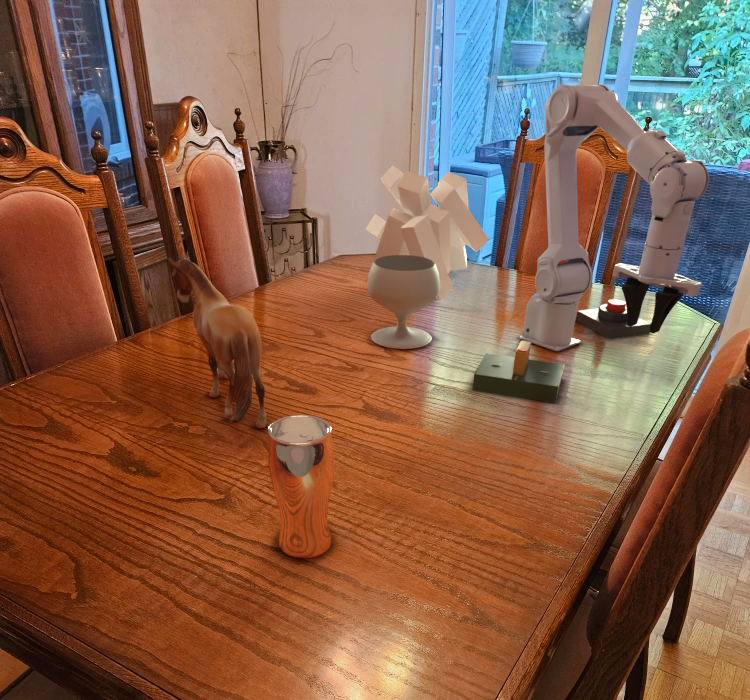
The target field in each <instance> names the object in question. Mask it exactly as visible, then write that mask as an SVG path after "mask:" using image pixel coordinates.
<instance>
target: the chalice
mask: <svg viewBox="0 0 750 700" xmlns="http://www.w3.org/2000/svg"><path fill="white" fill-rule="evenodd" d="M372 263H373V262H372ZM368 275H369V276H368ZM368 275H367V278H368V282H366V283H367V284H366V286H367V293H368V295H369V297H370V298H371V299H372V301H373V302H375V303H376V304H377V305H379V306H380V307H382V308H384V309H386V310H388V311H389V312H391V313H392V314H393V315H394V316H395V318H396V321H397V324H396V326H387V327H382V328H379V329H377V330H375V331H374V332H373V333H372V334H371V335H370V339H371V340H372V341H373V342H374V343H375V344H377V345H379V346H382V347H386V348H391V349H399V350H400V349H402V350H403V349H404V350H407V349H416V348H421V347H424V346H426V345H428V344H430V343H431V341H432V335H430V333H428V331H425V330H423V329H420V328H417V327H411V326H408V325H407V322H408V319H409V318H410V317H411V315H413V314H414V313H415V312H417V311H419V310H421V309H423V308H426V307H428V306H429V305H430V304H432V303H434V302H435V301H436V300H435V299H436V298H437V296H438V294H439V291H440V279H439V273H438V270H437V267H436V265H435V263H434V262H433V261H432V260H430V259H427V258H424V257H419V256H412V255H391V256H385V257H381V258H378V259H376V260H375V261H374V263H373V264H371V267H370V268H369V273H368Z"/></svg>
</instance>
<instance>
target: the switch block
mask: <svg viewBox="0 0 750 700" xmlns="http://www.w3.org/2000/svg"><path fill="white" fill-rule="evenodd" d="M607 304H608V303H604V304H601V305H599V306H598V308H589V309H581V310H580V309H579V310H577V315H576V320H575V322H577V323H579V324H581V325H583V326H585V327H587V328H589V329H590V330H593V331H594V332H596V333H598V334H600V335H602V336H603V337H605V338H607V339H609V340H613V339H619V338H621V339H622V338H628V337H629V338H630V337H635V336H641V335H642V336H644V335H650V334H651V333H650V326H651V322H649V321H646V320H644V319H642V318H641V317H639V319H638V322H637V324H636V325H633V326H631V327H630V326H627V307H626V306H625V310H624V312H613V311H609V310H607Z"/></svg>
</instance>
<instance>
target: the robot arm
mask: <svg viewBox="0 0 750 700" xmlns="http://www.w3.org/2000/svg"><path fill="white" fill-rule="evenodd" d="M544 127H545V128H544V129H545V136H544V143H543V144H544V146H543V147H544V173H545V194H546V195H545V197H546V219H547V243H548V246H547V249H545V251H544V252H543V253H542V254H541V255H540V256H539V257H538V258H537V261H536V263H537V267H536V268H537V270H536V274H535V277H534V287H535V291H536V293H534V294H533V295H532V296H530V298H529V300H528V302H527V304H526V307H525V313H524V320H523V326H522V334H521V335H519V339H520V340H522V341H528V342H531V344H534V345H536V346H540V347H542V348H545V349H547V350H550V351H553V352H560V351H563V350H565V349H569V348H571V347H574V346H575V345H579V344H581V340H580V339H577V338H574V337H573V336H574V330H575V325H576V315H577V311H579V310H578V309H579V305H580V300H581V299H583V297H584V294H585V293H586V292H587V291H588V290H589V289H590V288H591V286H592V283H593V269H592V267H591V264H590V260H589V252H588V251H587V250H586V249H585V247H583V246H582V245H581V244H580V242H579V241H580V240H579V211H578V210H579V209H578V175H577V174H578V172H577V151H578V149H579V147H580V146H581V144H582V143H583V142H584V141H586V140H587V139H588V138H590V136H591V135H593V134H594V133H595V132H596V131H598V129H599V128H600V129H601V130H602V131H603V132H604V133H606V134H607V135H608V136H609V137H611V138H612V139H613V140H614V141H615V142H616V143H618V144H619V145H620V146H621V147H623V148H624V149H625V150H626V151H627V152H626V162H627V163H628V165H629V166H630V167H631V168H632V169H633V170H634V171H635V172H636V173H637V174H638V175H639V176H640V177H641V178H642V179H643V180H644V181H645V182H646V183H647V184H648V185H649V192H650V197H651V207H650V211H651V217H650V221H649V225H648V229H647V234H646V238H645V243H644V246H643V251H642V255H641V259H640V264H639V266H638V265H631V264H625V263H617V264H615V265H614V267H613V271H612V277H613V278H615V279H618V278H622V279H626V281H625V283H622V284H621V291H622V293H623V296H624V300H625V301H624V302H626V307H627V326H630V327H631V326H633V325H636V324H637V322H638V319H639V318H640V316H641V312H642V311H641V310H642V307H643V303H644V301H645V298H646V295H647V292H648V290H649V288H650V286H653V287H656V288H661V290H659V291H656V292H655V293H654V308H653V314H652V319H651V322H650V323H651V326H650V333H649V334H656V333H658V332H660V330H661V329H662V326H663V324H664V322H665V321H666V319H667V317H668V316H669V314H670V312H671V311H672V310H673V308H675V306H676V304H678V302H679V301H680V300H681V299H682V298H683V297H684V295H686V296H687V297H691V298H693V297H696V296H699V294H700V290H701V287H702V284H703V283H702V282H700V281H696V280H693V279H691V278H688V277H685V276H683V275H680V274H678V273H677V271H678V267H679V264H680V261H681V255H682V252H683V248H684V245H685V241H686V237H687V234H688V230H689V226H690V222H691V218H692V215H693V211H694V207H695V203H696V201H697V200H699V199H701V197H703V196H704V194H705V193H706V191H707V189H708V186H709V183H710V174H709V171H708V168H707V167H706V166H705V163H704V162H703V161H702V160H699V159H692V160H689V159H688V158H686V152H684V151H683V150H678V149H677V148H676V147H675V146H674V145H672V143H670V141H668V140H667V139H666V138H667V137H668V134H667V133H666V132H665V131H664V130H656V129H650V130H647V131H645V130H644V129H643V127H642V126H641V125H640V124H639V123H638V122H637V121H636V120H635V118H633V116H632V115H631V114H630V113H629V112H628V111H627V110H626V108H625V107H624V106H623V105H622V104H621V102H619V101H618V94H617V93H616V92H614V91H613V90H611V89H610V87H608V86H607V85H606V84H603V83H602V84H601V83H600V84H595V85H570V84H566V83H565V84H563V83H562V84H560V85H558V86H556V87H555V88H554V90H553V91H552V93H551V94H550V96H549V98H548V99H547V100H546V103H545V104H544ZM562 261H566V262H562ZM662 289H663V290H662Z"/></svg>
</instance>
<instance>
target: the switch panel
mask: <svg viewBox="0 0 750 700" xmlns="http://www.w3.org/2000/svg"><path fill="white" fill-rule="evenodd" d="M514 360H515V356H507V355H501V354H500V355H499V354H492V353H485V354H484V356H483V358H482V359H481V362H480V363H479V365H478V367H477V368H476V370H475V372H474V373H473V382H472V391H475V392H482V393H487V394H495V395H502V396H506V397H514V398H519V399H527V400H532V401H537V402H538V401H539V402H544V403H545V402H546V403H552V404H556V402H557V399H558V396H559V391H560V387H561V385H562V382H563V375H564V370H565V364H563V363H556V362H548V361H542V360H535V359H529V360H528V365H527V367H526V370H525V372H524V375H516V374H513V367H514Z"/></svg>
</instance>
